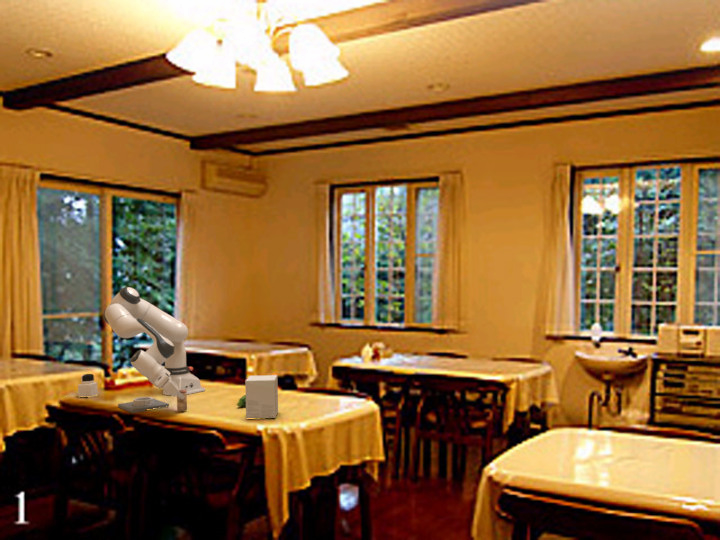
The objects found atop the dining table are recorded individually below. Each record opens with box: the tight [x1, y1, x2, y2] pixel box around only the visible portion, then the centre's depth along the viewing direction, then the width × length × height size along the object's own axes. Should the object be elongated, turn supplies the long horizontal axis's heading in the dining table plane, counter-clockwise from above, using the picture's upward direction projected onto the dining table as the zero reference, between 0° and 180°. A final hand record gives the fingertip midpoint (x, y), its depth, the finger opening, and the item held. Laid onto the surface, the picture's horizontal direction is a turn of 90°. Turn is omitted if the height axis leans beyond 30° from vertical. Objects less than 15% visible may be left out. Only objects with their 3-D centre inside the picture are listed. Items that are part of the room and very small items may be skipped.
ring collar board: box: [117, 396, 170, 414], centre depth 311 cm, size 18×18×4 cm
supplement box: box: [244, 374, 279, 419], centre depth 288 cm, size 13×13×18 cm
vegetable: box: [236, 394, 246, 408], centre depth 312 cm, size 7×7×20 cm
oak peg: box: [176, 390, 188, 412], centre depth 299 cm, size 4×4×9 cm
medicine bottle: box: [77, 373, 98, 397], centre depth 338 cm, size 7×7×12 cm
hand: (183, 397), depth 299 cm, fingers closed on oak peg, 4 cm apart
